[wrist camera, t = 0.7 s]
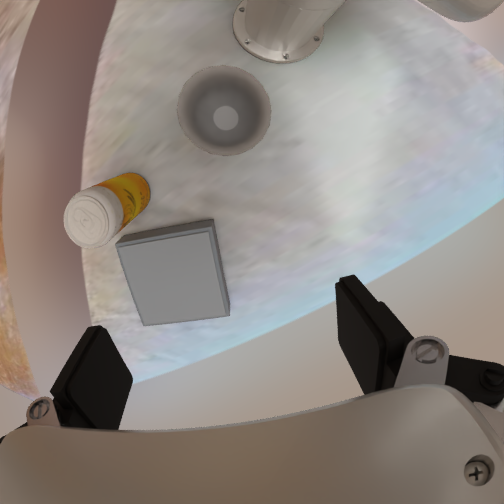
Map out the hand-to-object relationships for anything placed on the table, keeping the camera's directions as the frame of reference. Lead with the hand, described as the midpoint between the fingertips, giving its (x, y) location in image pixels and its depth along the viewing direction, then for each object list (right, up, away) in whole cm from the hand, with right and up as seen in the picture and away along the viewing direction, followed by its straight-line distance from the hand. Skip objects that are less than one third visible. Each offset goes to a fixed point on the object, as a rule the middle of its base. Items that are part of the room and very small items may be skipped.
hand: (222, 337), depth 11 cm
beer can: (-16, +12, +28) cm, 34 cm away
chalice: (-2, +20, +26) cm, 33 cm away
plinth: (-10, 0, +33) cm, 34 cm away
